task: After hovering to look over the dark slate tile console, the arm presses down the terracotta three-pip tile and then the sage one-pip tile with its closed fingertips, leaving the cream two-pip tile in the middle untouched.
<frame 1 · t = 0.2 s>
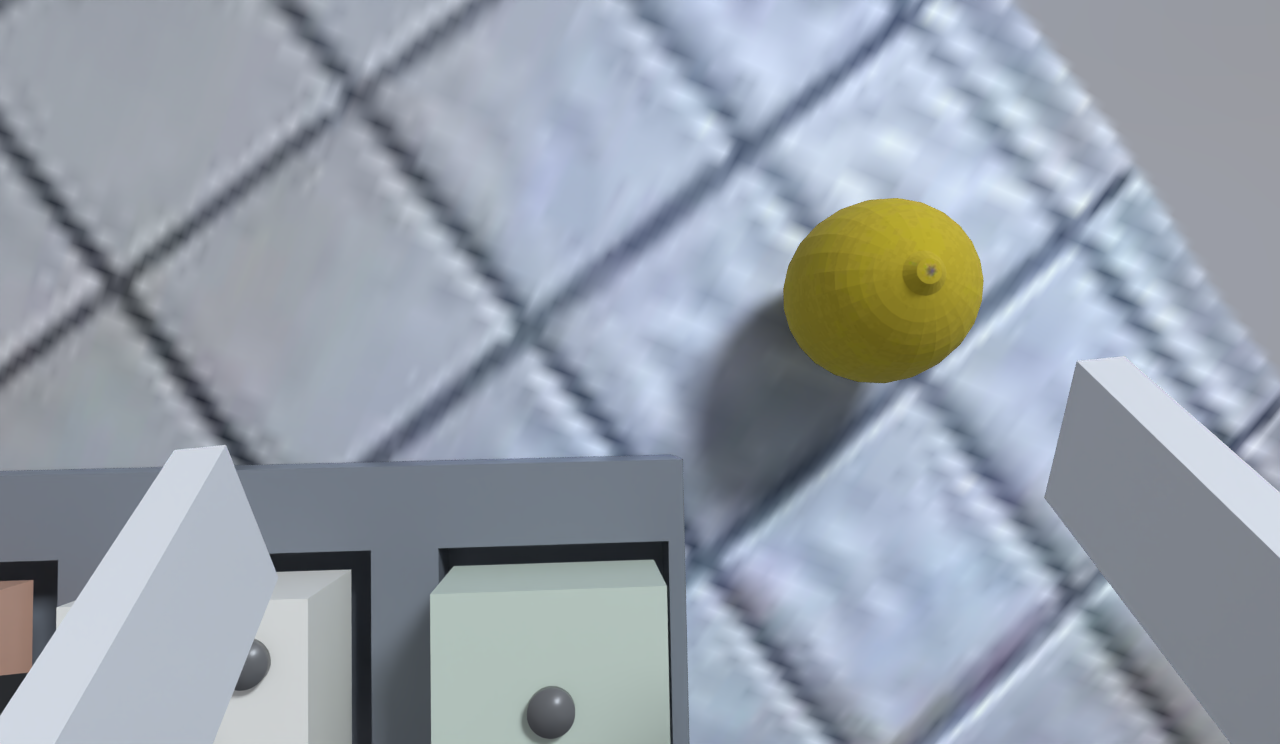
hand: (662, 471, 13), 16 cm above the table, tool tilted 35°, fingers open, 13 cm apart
tile two: (215, 701, 23), point 5 cm above the table, slide at 0.0 cm
tile one: (553, 686, 23), point 5 cm above the table, slide at 0.0 cm
lemon: (836, 309, 30), on the table
console: (286, 646, 28), on the table
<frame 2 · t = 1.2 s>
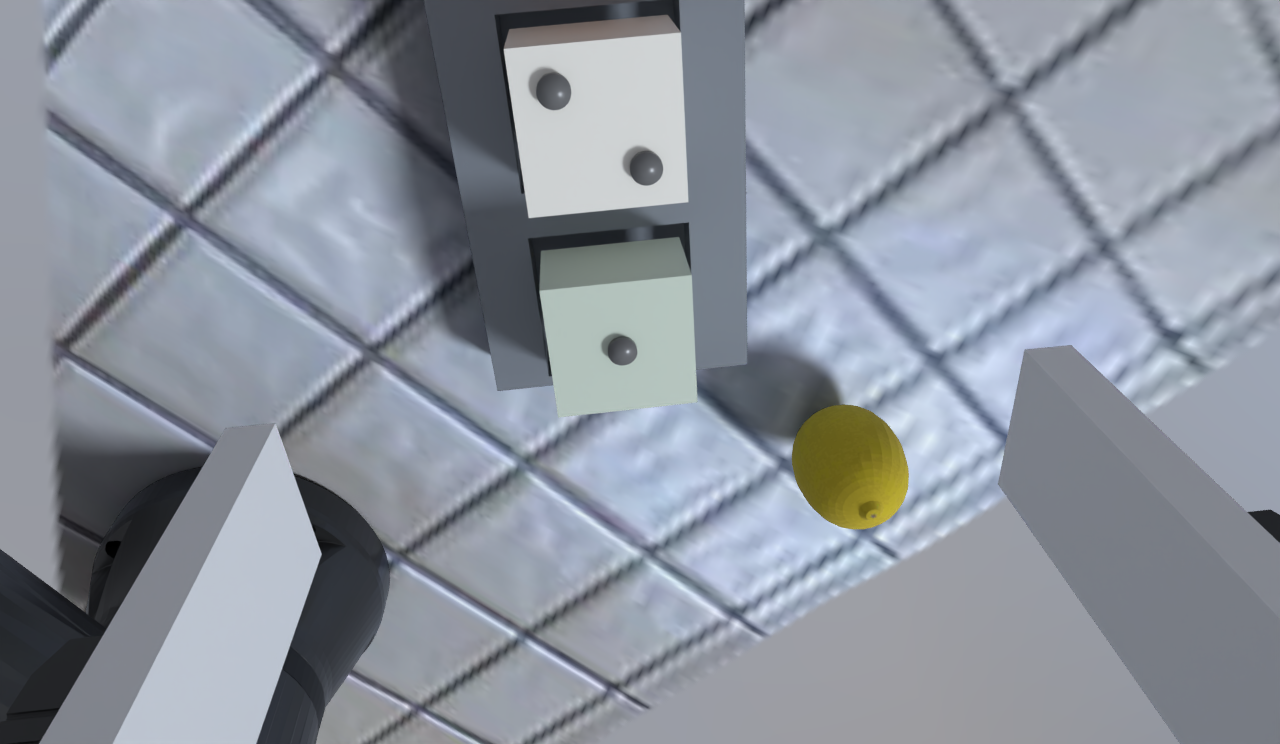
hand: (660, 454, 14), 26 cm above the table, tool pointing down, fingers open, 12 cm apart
tile two: (598, 116, 32), point 5 cm above the table, slide at 0.0 cm
tile one: (619, 328, 36), point 5 cm above the table, slide at 0.0 cm
lemon: (826, 418, 47), on the table
console: (593, 84, 36), on the table
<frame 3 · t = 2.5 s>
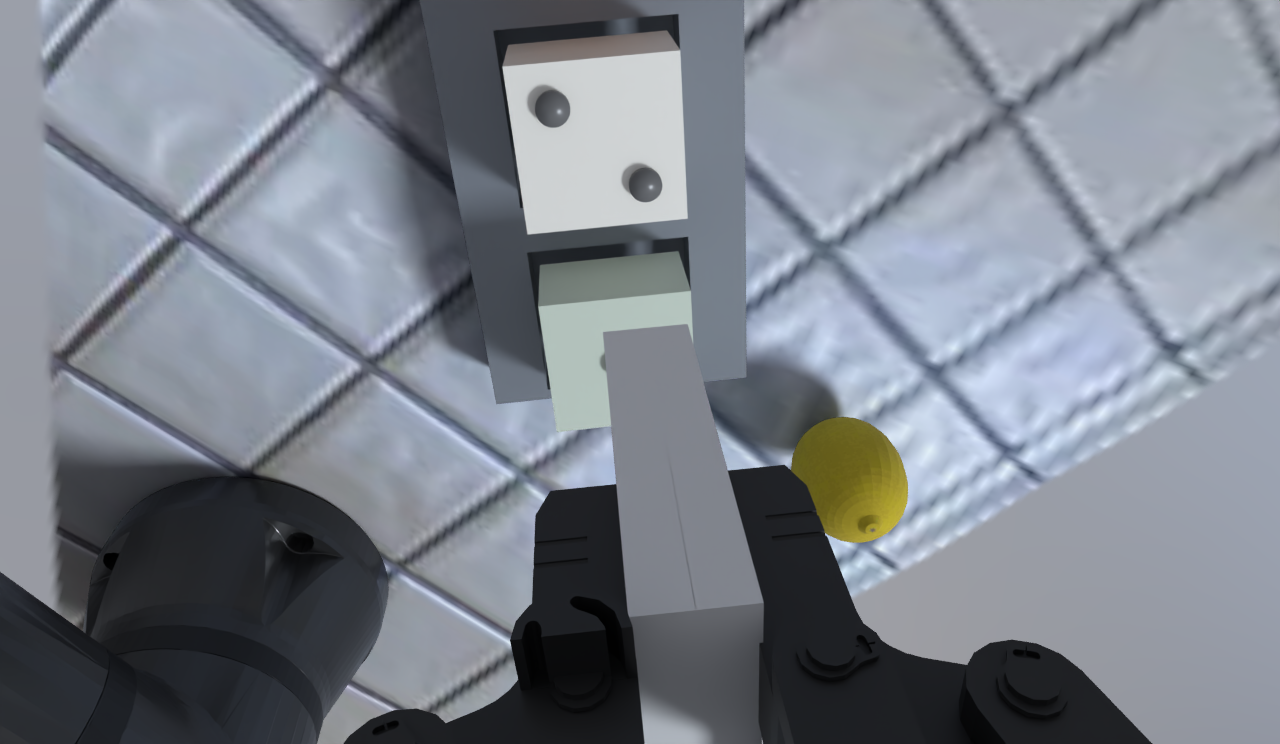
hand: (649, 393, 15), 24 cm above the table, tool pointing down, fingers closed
tile two: (597, 132, 32), point 5 cm above the table, slide at 0.0 cm
tile one: (618, 342, 36), point 5 cm above the table, slide at 0.0 cm
lemon: (825, 430, 47), on the table
console: (592, 98, 36), on the table
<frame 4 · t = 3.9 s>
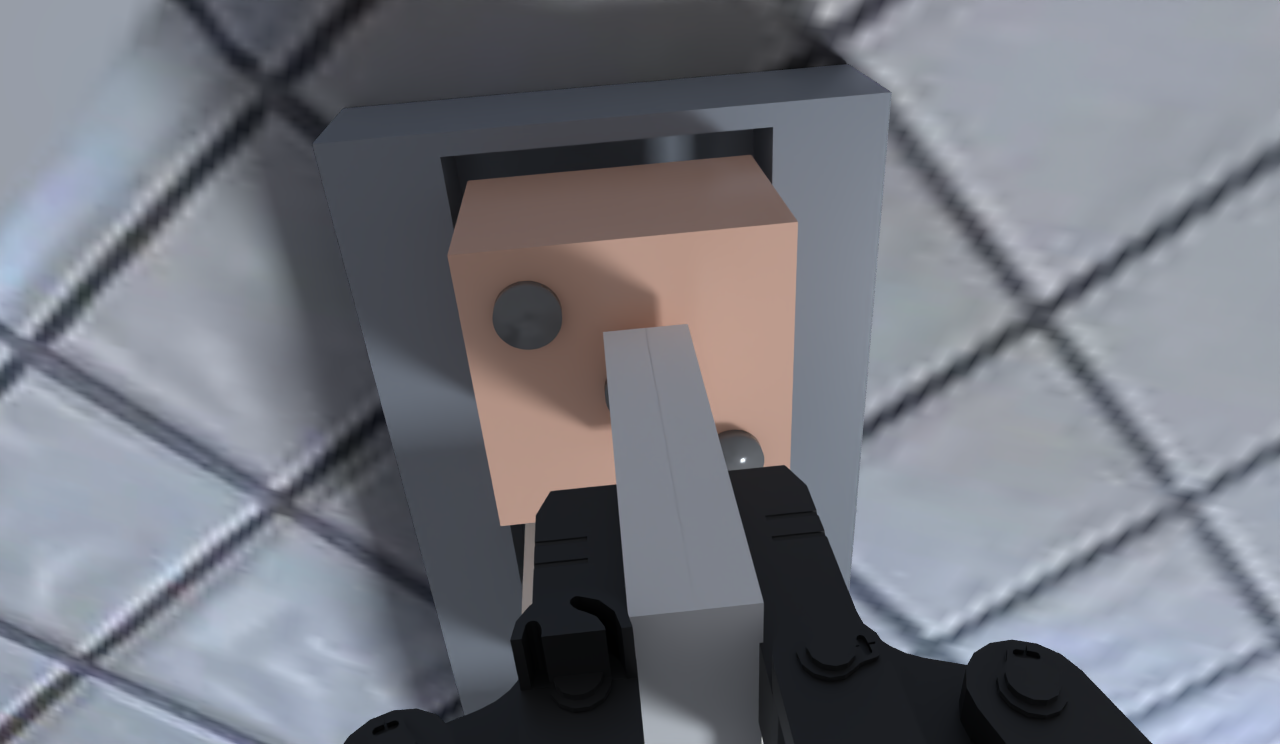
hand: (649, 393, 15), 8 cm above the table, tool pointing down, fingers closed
tile three: (628, 340, 18), point 5 cm above the table, slide at 0.2 cm, touching gripper
tile two: (654, 645, 22), point 5 cm above the table, slide at 0.0 cm
console: (636, 509, 27), on the table
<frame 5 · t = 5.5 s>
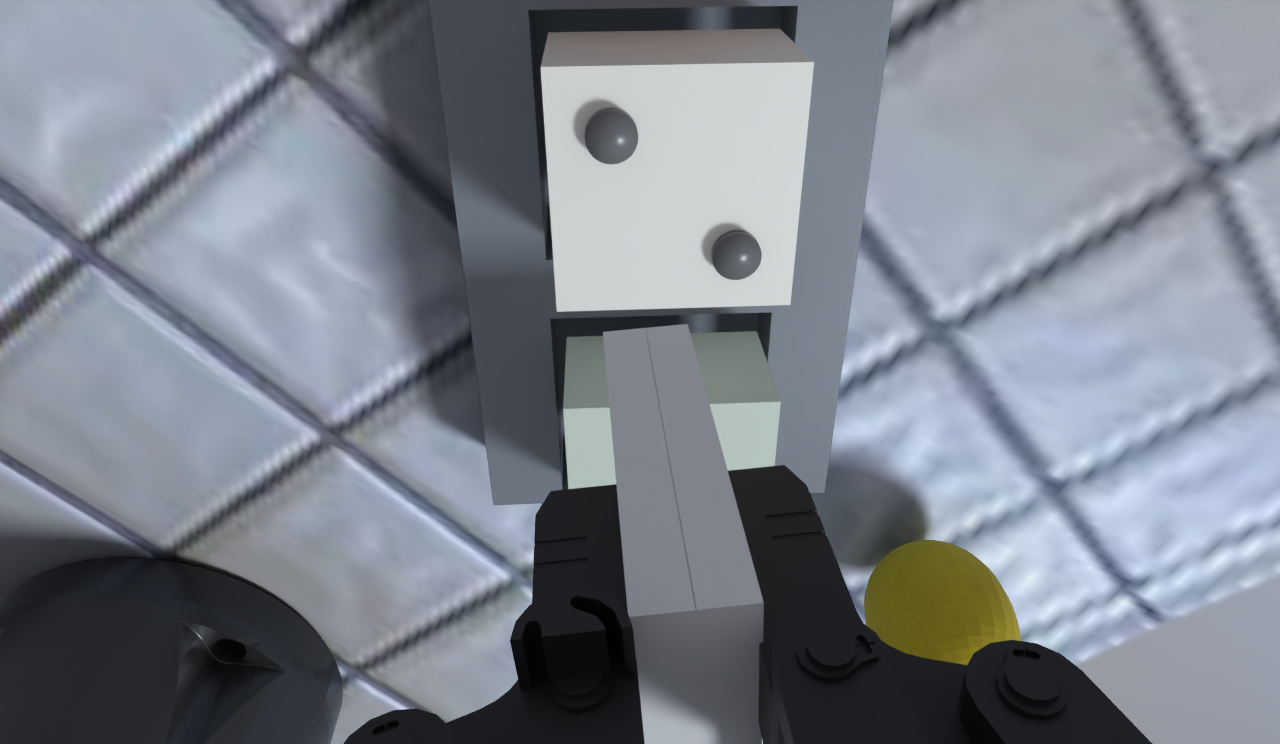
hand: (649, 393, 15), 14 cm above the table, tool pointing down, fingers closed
tile two: (669, 170, 22), point 5 cm above the table, slide at 0.0 cm
tile one: (666, 451, 26), point 5 cm above the table, slide at 0.0 cm
lemon: (905, 546, 37), on the table
console: (655, 113, 26), on the table
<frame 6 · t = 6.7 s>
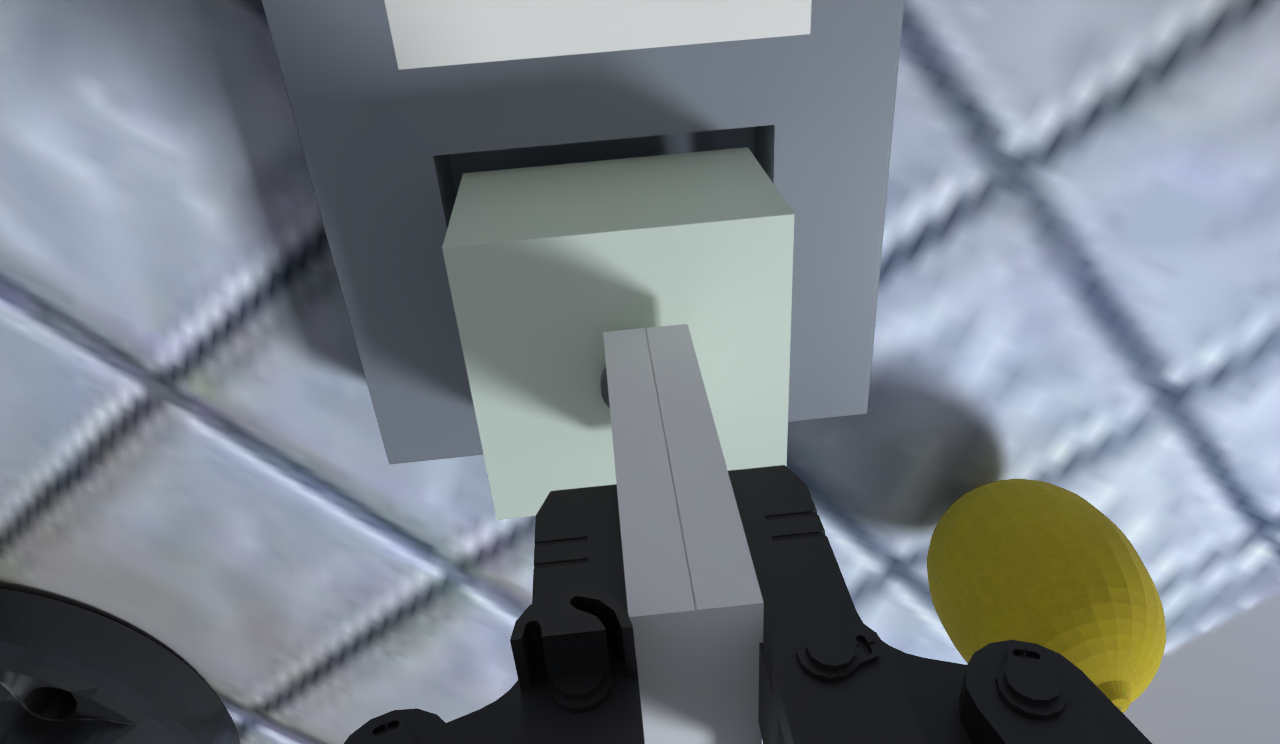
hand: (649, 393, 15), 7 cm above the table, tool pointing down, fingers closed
tile one: (624, 333, 17), point 5 cm above the table, slide at 0.6 cm, touching gripper
lemon: (972, 495, 27), on the table
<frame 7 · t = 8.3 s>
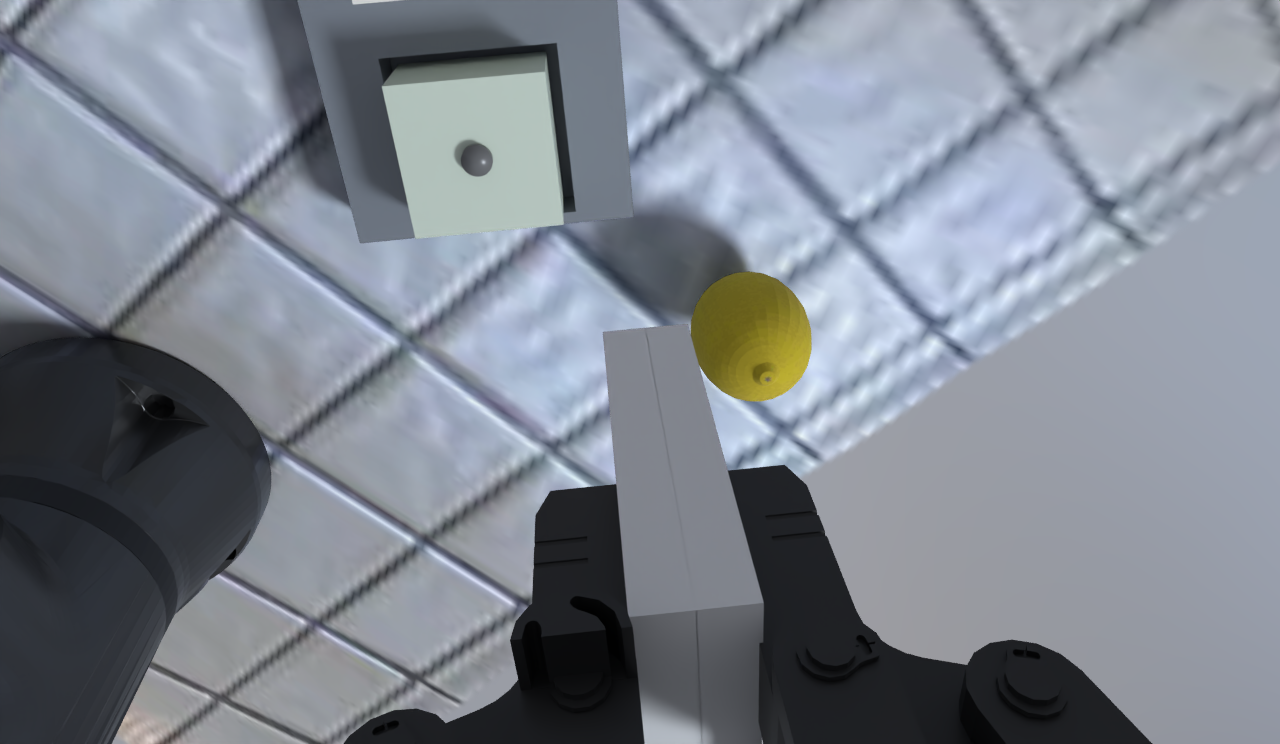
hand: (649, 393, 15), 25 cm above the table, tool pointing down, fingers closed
tile one: (480, 145, 34), point 4 cm above the table, slide at 1.6 cm
lemon: (734, 296, 43), on the table
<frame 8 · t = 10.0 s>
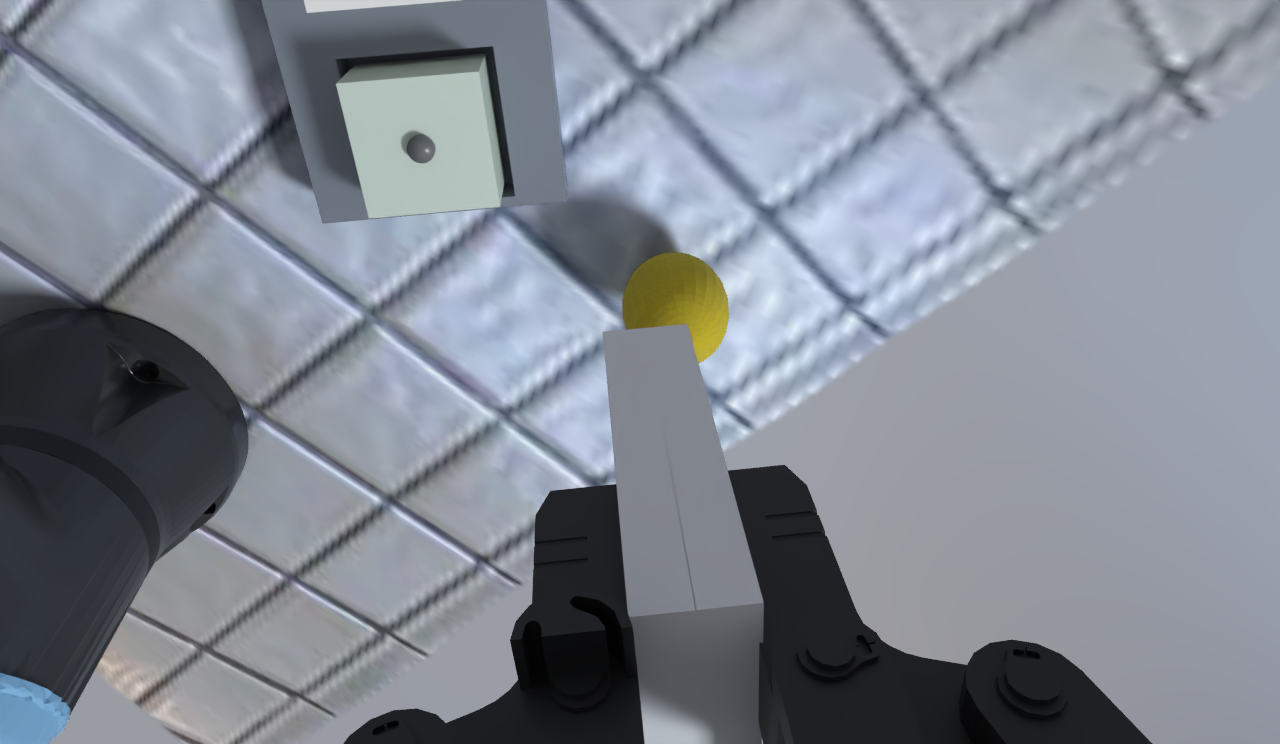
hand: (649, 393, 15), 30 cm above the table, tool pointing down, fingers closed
tile one: (427, 136, 39), point 4 cm above the table, slide at 1.6 cm
lemon: (666, 275, 48), on the table
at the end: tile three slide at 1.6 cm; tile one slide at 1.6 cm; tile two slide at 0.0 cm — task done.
